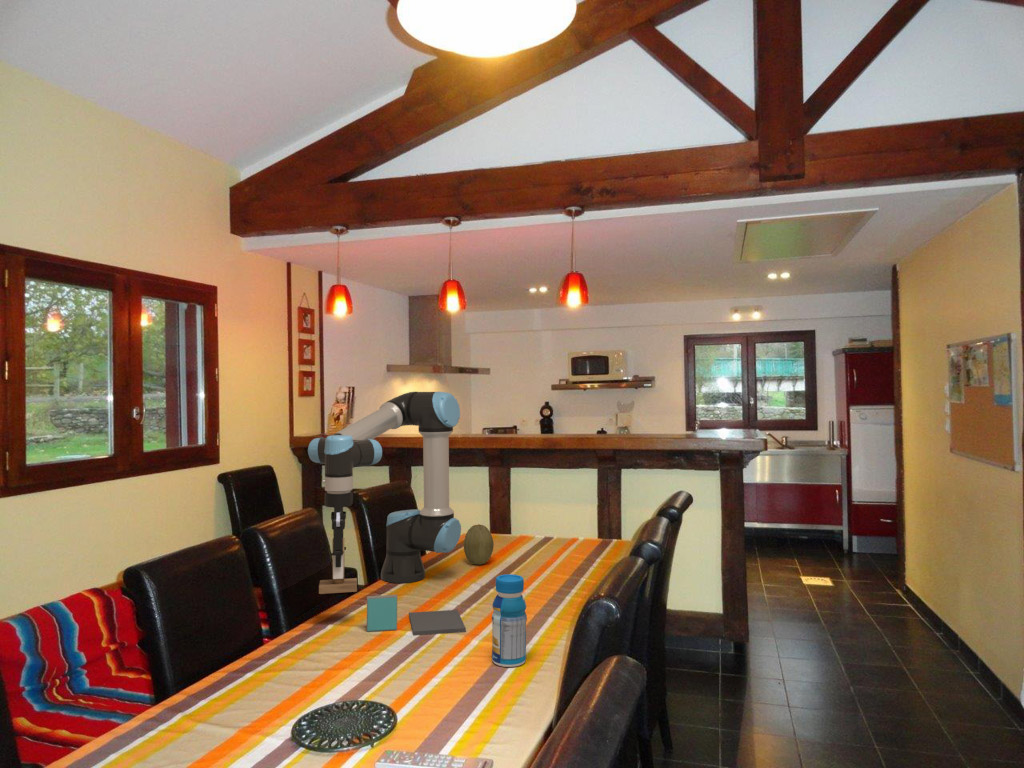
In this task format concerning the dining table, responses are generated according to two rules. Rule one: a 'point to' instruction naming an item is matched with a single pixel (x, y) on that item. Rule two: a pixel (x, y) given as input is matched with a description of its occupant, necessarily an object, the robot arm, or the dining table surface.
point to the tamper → (338, 582)
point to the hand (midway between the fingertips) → (338, 576)
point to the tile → (381, 613)
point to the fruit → (478, 544)
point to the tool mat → (436, 622)
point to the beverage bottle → (509, 622)
